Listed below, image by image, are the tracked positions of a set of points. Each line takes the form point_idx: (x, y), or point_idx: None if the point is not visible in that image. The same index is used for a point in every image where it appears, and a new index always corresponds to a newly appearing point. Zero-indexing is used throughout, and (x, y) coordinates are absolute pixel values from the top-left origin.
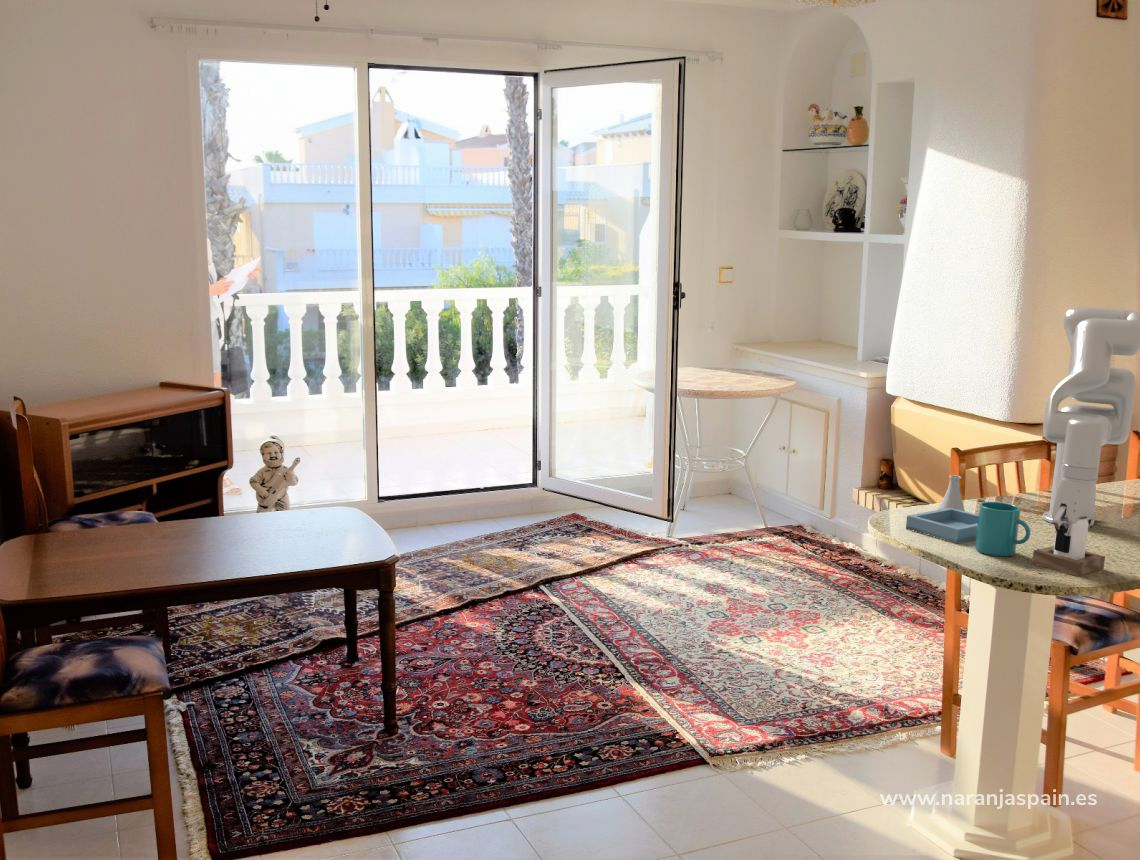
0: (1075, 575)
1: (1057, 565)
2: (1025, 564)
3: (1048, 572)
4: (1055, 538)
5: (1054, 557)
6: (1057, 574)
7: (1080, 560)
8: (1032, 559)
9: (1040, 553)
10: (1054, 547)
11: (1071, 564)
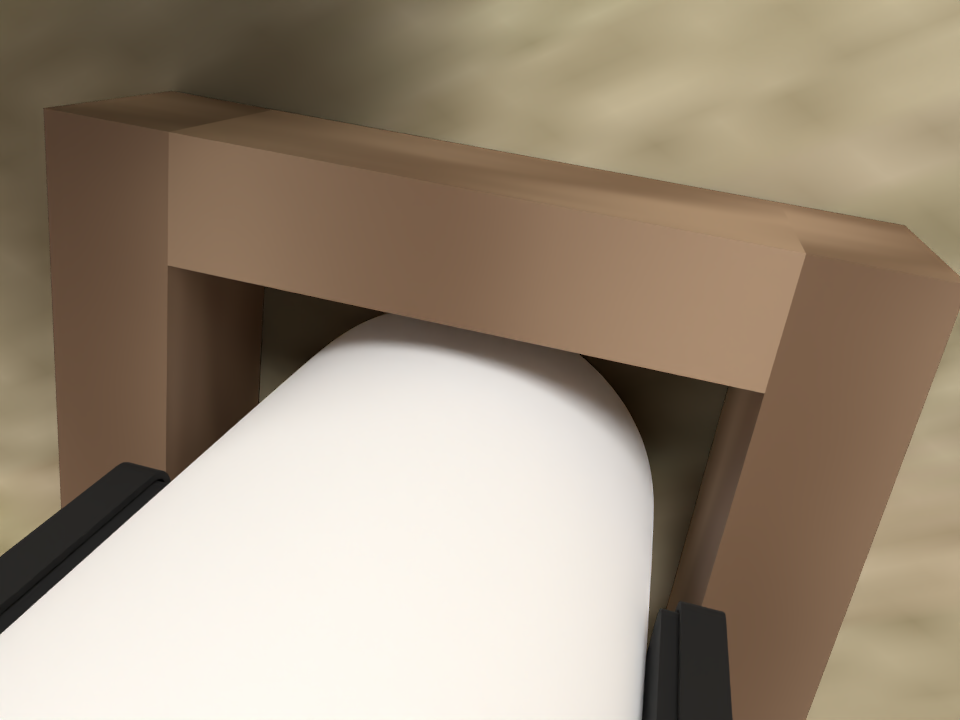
0: None
1: None
2: (46, 49)
3: (13, 391)
4: (161, 502)
5: (70, 461)
6: (39, 483)
7: None
8: (135, 97)
9: (58, 241)
10: (252, 418)
11: None
